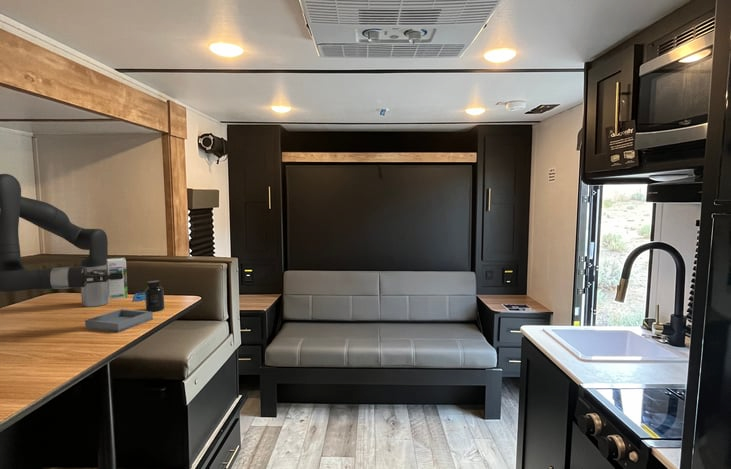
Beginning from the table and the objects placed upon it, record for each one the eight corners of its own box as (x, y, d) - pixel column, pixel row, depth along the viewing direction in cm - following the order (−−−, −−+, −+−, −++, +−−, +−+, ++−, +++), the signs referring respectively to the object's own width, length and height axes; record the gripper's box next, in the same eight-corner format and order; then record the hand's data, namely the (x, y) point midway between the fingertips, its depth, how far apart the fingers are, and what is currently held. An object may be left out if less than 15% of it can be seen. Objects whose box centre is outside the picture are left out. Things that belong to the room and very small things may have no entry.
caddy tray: (85, 328, 141) (85, 320, 141) (122, 316, 156) (121, 308, 155) (118, 332, 137) (117, 323, 137) (152, 319, 151) (152, 311, 151)
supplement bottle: (168, 307, 168) (166, 279, 166) (158, 312, 161) (156, 283, 160) (152, 307, 168) (151, 279, 167) (142, 311, 162) (140, 283, 160)
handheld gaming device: (133, 299, 178) (135, 292, 191) (133, 302, 178) (135, 295, 191) (153, 297, 181) (154, 290, 195) (154, 300, 181) (154, 293, 195)
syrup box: (109, 300, 141) (107, 260, 140) (108, 296, 146) (106, 258, 145) (127, 298, 144) (126, 258, 143) (126, 294, 149) (124, 256, 148)
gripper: (62, 270, 132) (120, 267, 139) (74, 263, 145) (126, 261, 152) (63, 292, 133) (121, 288, 139) (75, 284, 146) (127, 280, 152)
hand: (124, 274), depth 145 cm, fingers closed on syrup box, 6 cm apart
